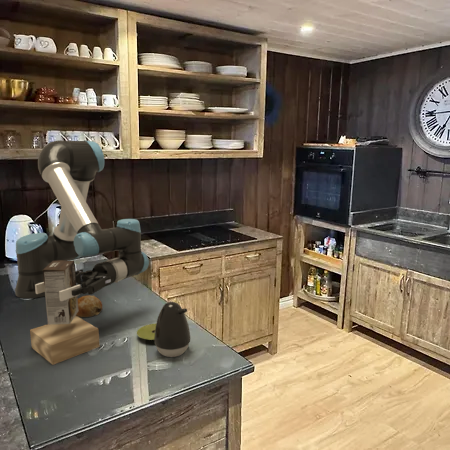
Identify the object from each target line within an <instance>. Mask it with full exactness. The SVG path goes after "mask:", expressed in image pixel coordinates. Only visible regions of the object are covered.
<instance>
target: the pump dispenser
mask: <svg viewBox="0 0 450 450" xmlns="http://www.w3.org/2000/svg"><path fill="white" fill-rule="evenodd" d="M187 312H188V308H185V307H184V308H182V307H181V305H180V304H179V303H177V302H176V301H168V302H166V303H164V305H163V306H162V308H161V309H160V311H159V314H158V316H157V320H156V328H155V335H154V340H153V341H154V345H155V346H156V349H157V351H158V352H159V354H160V355H162V356H164V357H168V358H176V357H179V356H181V355H183V354H184V353H185V352H186V351H187V349H188V348H189V345H190V343H191V332H190V327H189V323H188V319H187V317H186V316H187V315H186V313H187Z"/></svg>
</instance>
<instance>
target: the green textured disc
mask: <svg viewBox="0 0 450 450" xmlns="http://www.w3.org/2000/svg"><path fill="white" fill-rule="evenodd" d="M156 323H157V322H156ZM156 323H150V324H145V325H143V326H141V327H140V328H138V329H137V331H136V335H137V336H138V337H139V338H140V339H144V340H149V341H150V340H151V341H152V340H153V341H154V335H155V328H156Z"/></svg>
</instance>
